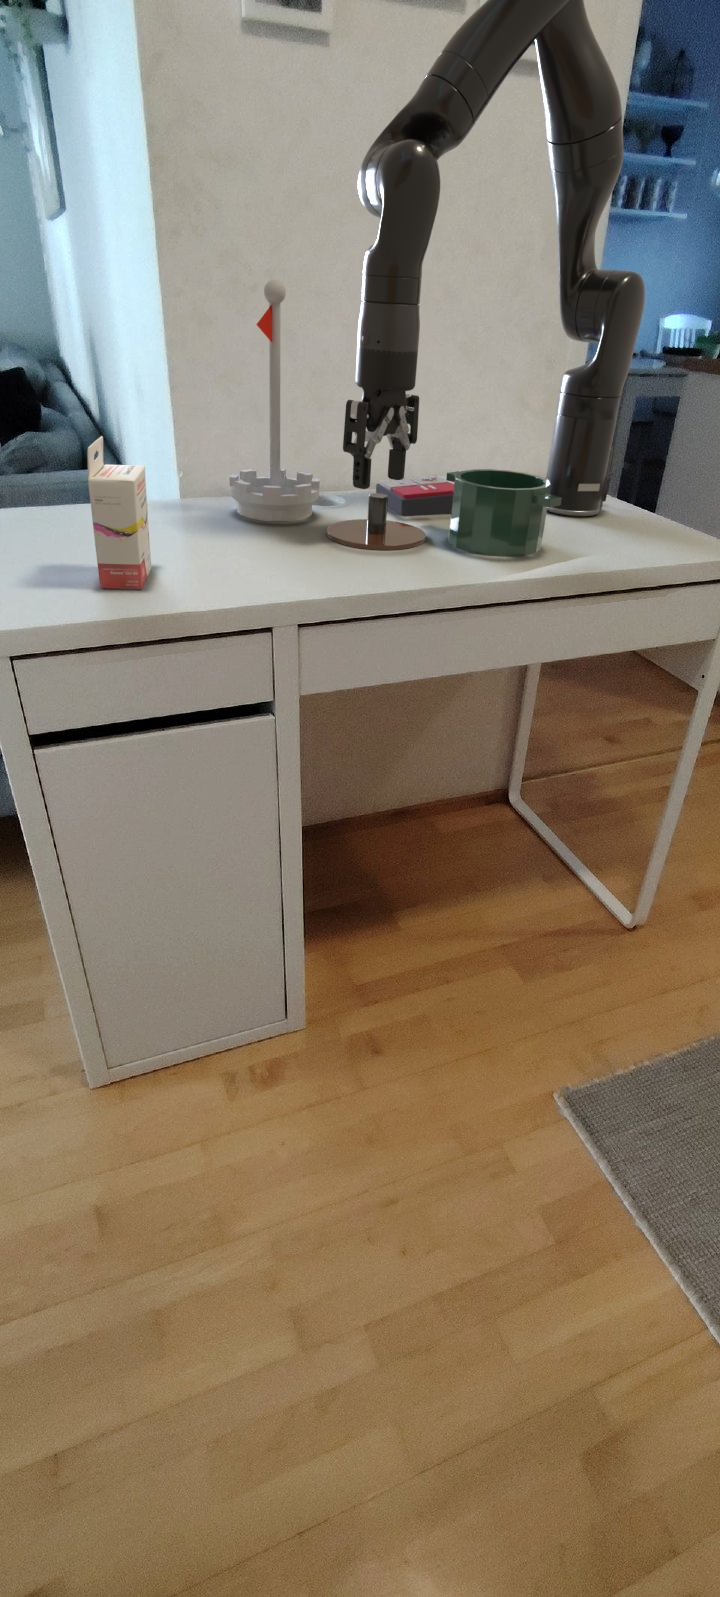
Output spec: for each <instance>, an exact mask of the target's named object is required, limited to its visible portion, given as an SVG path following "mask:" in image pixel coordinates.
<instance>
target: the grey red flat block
mask: <svg viewBox="0 0 720 1597" xmlns="http://www.w3.org/2000/svg"><path fill="white" fill-rule="evenodd" d="M446 477H447V475H441V476H438V475H427V476H415V477H414V476H413V477H410V478H405V477H404V478H403V479H402V480H394V479H382V480H380V481H379V483H376V485H375V493H380V494H385V495H388V506H387V509H389V510H391V511H393V512H395V513H396V514H398V515H400V516H401V517H419V516H440V515H450V514H451V505H452V495H453V485H454V482H451V481H448V480H446Z"/></svg>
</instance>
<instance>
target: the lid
mask: <svg viewBox="0 0 720 1597" xmlns="http://www.w3.org/2000/svg"><path fill="white" fill-rule="evenodd" d="M387 506H388V495H385V494H380V493H376V492H375V493H370V494H368V502H367V518H361V519H350V520H349V519H348V520H347V519H346V520H342V521H338V522H334V523H332V524H330V525H329V526H328V527H327V528H326V536H327V537H328V538H329V539H330V540H331V541H333V542H335V543H337V544H341V545H344V546H347V547H350V548H357V549H361V550H363V549H364V550H374V551H395V550H396V551H397V550H398V551H399V550H406V549H411V548H415V547H418V546H421V545H423V544H424V543H425V541H426V537H427V535H426V532H425V531H424V530H423V529H421V528H419V527H417V526H414V525H412V524H408V523H404V522H400V521H396V520H395V521H394V520H388V507H387Z"/></svg>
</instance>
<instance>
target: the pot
mask: <svg viewBox="0 0 720 1597" xmlns="http://www.w3.org/2000/svg"><path fill="white" fill-rule="evenodd" d="M446 476H447V477H446V480H448V481H451V482H454V485H453V495H452V505H451V514H449V523H448V524H449V525H448V533H447V534H448V535H447V540H448V544H450V545H451V546H453V547H454V548H455V549H456V548H457V549H458V550H461V551H465V552H468V553H472V554H478V555H482V556H490V557H505V558H509V557H510V558H511V557H525V556H530V555H533V554H537V553H538V552H539V551H541V549H542V544H543V537H544V531H545V525H546V519H547V514H548V511H547V507H554V506H559V505H560V504H561V497H558V496H554V495H550V489H551V483H550V482H549V480H547V479H546V477H545V478H544V477H542V476H540V475H536V474H532V473H528V472H523V471H515V470H509V469H508V470H507V469H495V468H494V469H493V468H484V469H483V468H481V469H480V468H479V469H477V468H475V469H468V470H467V469H465V470H461V471H459V470H456V471H450V472H446Z"/></svg>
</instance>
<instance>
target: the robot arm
mask: <svg viewBox="0 0 720 1597" xmlns="http://www.w3.org/2000/svg"><path fill="white" fill-rule="evenodd" d="M533 43H535V44H534V45H535V51H536V58H537V66H538V74H539V82H540V89H541V90H540V91H541V96H542V103H543V112H544V126H545V138H546V148H547V155H548V164H549V172H550V179H551V180H550V181H551V185H552V193H553V194H552V195H553V203H554V212H555V224H556V235H557V253H558V254H557V255H558V296H559V297H558V298H559V300H558V301H559V314H560V320H561V325H562V329H563V331H564V334H565V335H566V336H567V337H568V338H569V339H571V340H573V341H577V342H582V343H592V344H598V345H597V349H596V351H595V352H596V353H595V355H594V356H593V358H592V359H590V360H589V361H588V362H586V363H585V364H582V365H579V366H577V367H574V368H570V369H567V370H566V371H565V372H563V374H562V376H561V379H560V387H559V392H558V399H557V405H556V411H555V412H556V413H555V417H554V425H553V430H552V436H551V443H550V449H549V457H548V462H547V468H546V475H545V479H547V480H549V482H550V483H551V489H550V495H554V496H558V497H561V504H560V505H559V506H554V507H547V512H549V513H552V514H557V515H562V516H568V517H592V516H596V515H598V514H600V511H602V509H603V503H604V502H607V501H606V500H607V497H608V493H609V488H610V485H611V484H610V483H611V477H609V473H610V467H611V463H612V458H613V453H614V450H613V448H612V446H613V440H614V435H615V429H616V426H617V420H618V414H619V409H620V404H621V398H622V394H623V390H624V389H623V388H624V386H625V383H626V380H627V377H628V375H629V372H630V369H631V365H632V361H633V357H634V356H633V355H634V351H635V347H636V343H637V339H638V336H639V331H640V327H641V323H642V319H643V314H644V309H645V304H646V303H645V302H646V288H645V281H644V279H643V277H642V275H640V273H638V272H636V271H631V270H619V269H618V270H617V269H598V266H597V263H596V254H595V252H596V251H595V248H596V246H595V244H596V240H595V239H596V233H597V232H596V231H597V228H598V226H599V222H600V219H601V217H602V215H603V212H604V210H605V208H606V205H607V203H608V202H609V200H610V197H611V195H612V193H613V191H614V189H615V186H616V184H617V182H618V180H619V176H620V174H621V170H622V167H623V162H624V153H625V152H624V148H625V147H624V128H623V109H622V99H621V94H620V90H619V87H618V85H617V83H616V82H617V81H616V79H615V76H614V74H613V71H612V69H611V67H610V65H609V63H608V60H607V59H606V56H605V55H604V52H603V50H602V48H601V47H600V44H599V43H598V40H597V39H596V36H595V34H594V31H593V29H592V27H591V23H590V20H589V17H588V15H587V10H586V6H585V0H486V1H485V2H484V3H483V4H482V5H481V6H480V7H479V8H477V9H476V11H474V12H473V13H472V14H471V15H470V16H469V17H468V18H467V19H466V20H465V21H464V22H463V23H462V24H461V25H460V26H459V28H458V29H457V30H456V32H454V34H453V35H452V36H451V37H450V39H449V40H448V42H447V43H446V44H445V46H444V47H443V48H442V50H441V51H440V53H439V55H438V57H437V58H436V59H435V61H434V62H433V64H432V66H431V67H430V69H429V70H428V72H427V73H426V75H425V77H424V79H423V80H422V81H421V83H420V85H419V87H418V89H417V90H416V91H415V93H414V95H413V96H412V98H411V99H410V100H409V101H408V102H407V103H406V104H405V105H404V106H403V107H402V108H401V109H400V110H399V112H398V113H397V114H396V115H395V116H394V117H393V119H391V121H390V122H389V123H388V124H387V125H386V127H384V128H383V130H382V131H381V132H380V133H379V135H378V136H377V137H376V138H375V140H374V141H373V143H372V144H371V146H370V147H369V149H368V150H367V152H366V154H365V156H364V158H363V160H362V162H361V165H360V168H359V172H358V177H357V190H358V196H359V199H360V202H361V204H362V206H363V207H364V208H365V210H366V211H367V212H368V213H369V214H371V215H372V216H374V217H376V218H378V219H380V222H379V229H378V234H377V239H376V240H375V242H374V243H373V244H372V245H370V246H369V247H368V248H367V249H366V251H365V254H364V260H363V266H362V267H363V268H362V279H361V280H362V282H361V302H360V311H359V316H358V325H357V343H356V344H357V345H356V364H355V365H356V366H355V385H356V386H357V387H359V388H361V389H362V397H361V401H360V400H355V399H348V400H346V403H345V411H344V412H345V413H344V425H343V426H344V427H343V440H342V441H343V442H342V451H343V452H344V453H348V454H350V456H352V457H353V462H352V463H353V466H352V485H353V486H352V487H354V488H356V489H360V490H367V489H369V488H370V487H371V473H372V456H373V452H374V450H375V448H376V446H377V444H380V443H381V441H382V439H383V437H387V440H388V443H389V447H390V449H389V450H388V451H389V452H388V464H387V465H388V466H387V478H388V479H389V480H392V479H394V480H402V479H403V478H405V470H406V460H407V459H406V458H407V457H406V456H407V451H408V450H409V449H410V448H411V445H415V444H417V441H418V433H419V432H418V430H419V411H420V396H419V395H417V394H410V393H407V392H410V391H413V390H414V389H415V387H416V380H417V366H418V355H419V343H420V330H421V322H420V321H421V320H420V318H421V317H420V305H421V304H420V303H421V292H422V291H421V290H422V280H423V279H422V278H423V265H424V259H425V256H426V253H427V250H428V246H429V244H430V240H431V236H432V232H433V228H434V224H435V222H436V221H435V220H436V217H437V213H438V208H439V203H440V196H441V173H440V172H441V171H440V166H439V162H438V161H439V159H440V158H441V157H442V156H444V155H445V154H447V153H449V152H451V151H453V150H454V149H456V148H457V147H459V146H460V145H461V144H462V143H463V142H464V140H465V139H466V138H467V136H469V134H470V132H471V131H472V129H473V128H474V126H475V125H476V123H477V121H478V120H479V118H480V117H481V115H482V114H483V113H484V111H485V110H486V108H487V107H488V105H489V103H491V100H492V99H493V98H494V96H495V95H496V93H497V92H498V90H499V88H500V87H501V85H502V84H503V82H504V81H505V79H506V78H507V77H508V75H509V74H510V72H511V71H512V70H513V68H514V67H515V66H516V64H517V63H518V62H519V61H520V59H521V58H522V57H523V56H524V54H525V53H526V52H527V51H528V50H529V48H530V47H531V45H532V44H533ZM409 426H410V428H409ZM353 433H354V436H355V438H354V441H353Z"/></svg>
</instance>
